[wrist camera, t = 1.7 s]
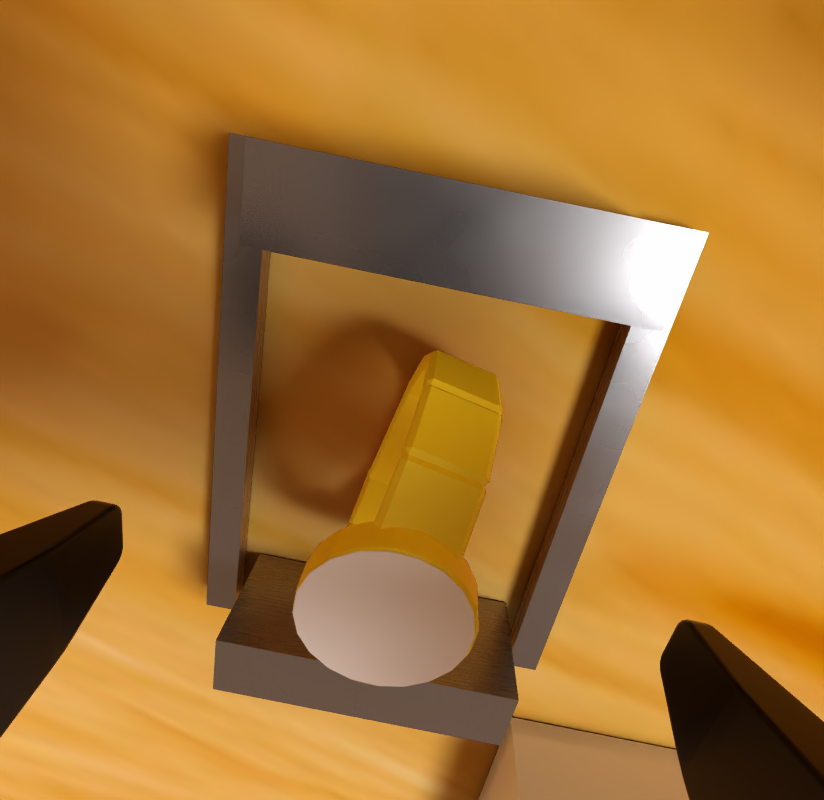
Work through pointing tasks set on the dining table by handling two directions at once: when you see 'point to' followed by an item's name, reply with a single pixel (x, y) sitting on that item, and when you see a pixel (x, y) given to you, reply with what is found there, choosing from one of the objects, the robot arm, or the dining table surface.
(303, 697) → the grey rectangular open frame
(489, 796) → the parts tray
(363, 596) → the watch
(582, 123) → the dining table surface
